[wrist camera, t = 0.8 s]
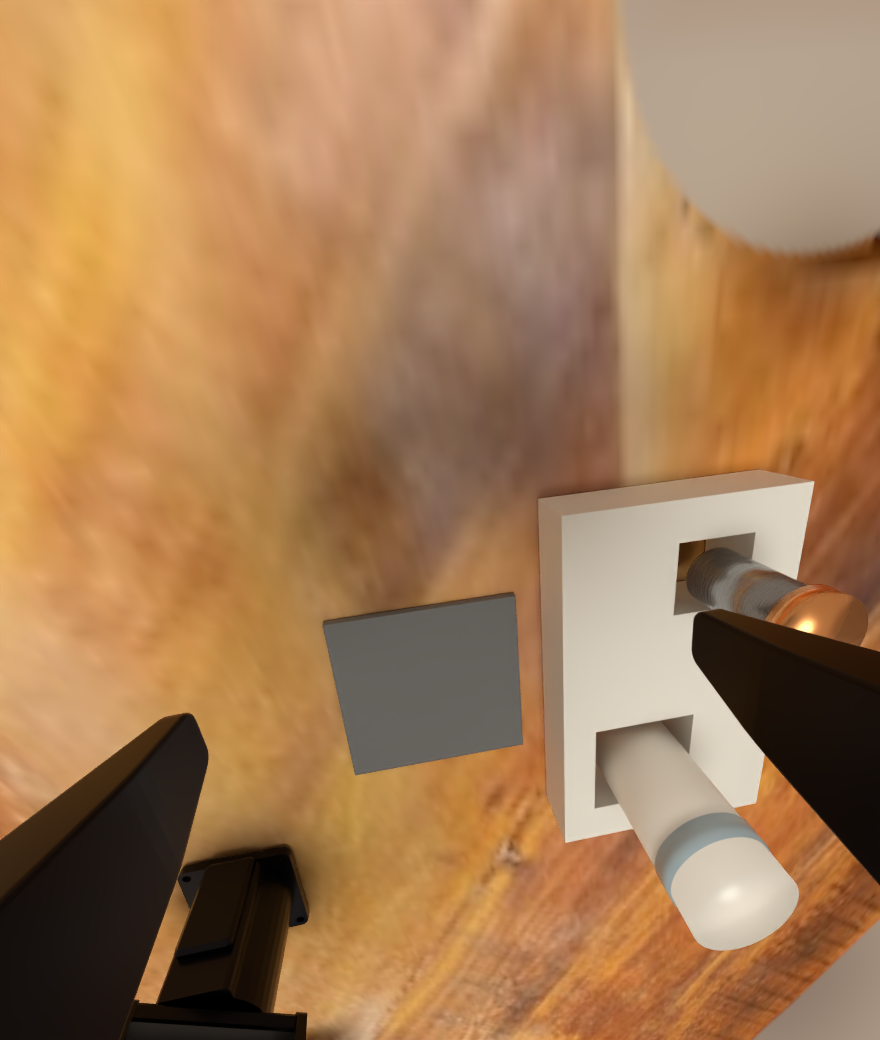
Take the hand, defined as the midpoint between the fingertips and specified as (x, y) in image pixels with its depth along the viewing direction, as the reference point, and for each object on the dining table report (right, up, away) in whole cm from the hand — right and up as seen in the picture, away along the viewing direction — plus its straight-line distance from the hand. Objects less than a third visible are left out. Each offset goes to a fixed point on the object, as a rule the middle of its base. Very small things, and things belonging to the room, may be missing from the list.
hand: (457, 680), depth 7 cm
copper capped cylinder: (+13, 0, +13) cm, 18 cm away
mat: (-1, -6, +16) cm, 17 cm away
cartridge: (+11, -10, +19) cm, 23 cm away
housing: (+12, -5, +17) cm, 21 cm away
